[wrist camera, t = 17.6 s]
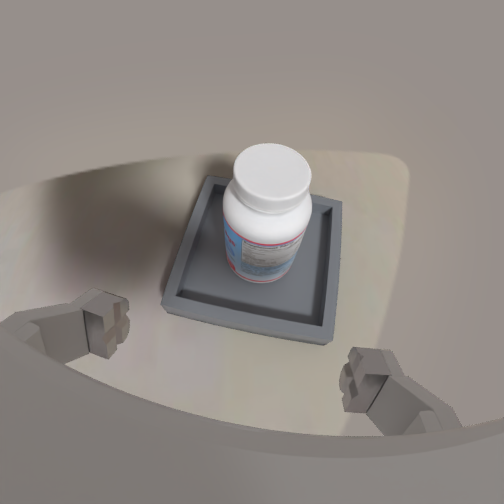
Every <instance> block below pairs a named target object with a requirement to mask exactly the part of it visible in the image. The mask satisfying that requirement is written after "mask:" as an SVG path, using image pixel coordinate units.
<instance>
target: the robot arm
mask: <svg viewBox="0 0 504 504" xmlns="http://www.w3.org/2000/svg"><path fill="white" fill-rule="evenodd" d="M128 311H129V302H128V300H127V299H126V298H123V297H120V296H117V295H114V294H111V293H108V292H105V291H102V290H99V289H96V288H92V289H90V290H89V291H87V292H86V293H84V294H83V295H82V296H80V297H79V298H77V299H76V300H75V301H73V302H72V303H70V304H67V303H65V304H59V305H54V306H48V307H43V308H37V309H31V310H26V311H20V312H15V313H14V314H12V315H11V316H9V317H8V318H6V319H5V320H3V321H2V322H1V323H0V504H504V418H500V419H496V420H492V421H488V422H485V423H480V424H475V425H471V426H466V427H462V425H461V423H460V421H459V419H458V417H457V416H456V413H455V411H454V410H453V408H452V407H451V406H449V405H448V404H446V403H445V402H444V401H442V400H440V399H439V398H438V397H437V396H435V395H434V394H432V393H431V392H429V391H428V390H427V389H425V388H424V387H422V386H421V385H420V384H418V383H417V382H416V381H414V380H413V379H411V378H410V377H408V376H405V375H404V373H403V371H402V369H401V367H400V365H399V363H398V361H397V359H396V358H395V355H394V353H393V352H392V351H391V350H386V349H371V348H360V347H353V348H352V349H351V350H350V352H349V355H348V358H349V362H348V363H347V364H345V365H344V366H343V368H342V371H341V374H340V379H339V387H340V390H341V391H342V392H343V393H344V395H343V397H342V402H343V407H344V412H352V413H366V415H367V416H368V417H369V418H370V420H371V421H372V422H373V423H374V424H375V425H376V427H377V428H378V429H379V430H380V431H381V432H382V434H383V435H384V436H365V437H363V436H362V437H358V436H357V437H355V436H352V437H351V436H326V435H312V434H300V433H291V432H283V431H275V430H268V429H261V428H255V427H250V426H244V425H239V424H234V423H229V422H224V421H219V420H215V419H211V418H207V417H203V416H199V415H195V414H191V413H187V412H184V411H180V410H177V409H173V408H170V407H167V406H164V405H161V404H158V403H154V402H151V401H149V400H146V399H143V398H140V397H137V396H135V395H132V394H129V393H127V392H124V391H122V390H119V389H117V388H114V387H112V386H109V385H107V384H105V383H102V382H100V381H98V380H95V379H93V378H91V377H89V376H87V375H85V374H82V373H80V372H78V371H76V370H74V369H72V368H70V367H68V366H66V365H64V364H65V363H68V362H70V361H73V360H75V359H77V358H80V357H82V356H84V355H87V354H89V352H90V353H92V354H95V355H98V356H100V357H103V358H105V359H108V360H109V358H110V357H111V356H112V355H113V354H114V353H115V351H116V350H117V345H118V344H121V343H123V342H124V341H125V339H126V338H127V335H128V333H129V328H130V320H129V318H128V316H127V315H126V313H127V312H128Z"/></svg>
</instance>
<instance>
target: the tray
mask: <svg viewBox="0 0 504 504" xmlns="http://www.w3.org/2000/svg"><path fill="white" fill-rule="evenodd" d="M231 180H232V179H228V178H222V177H216V176H209V175H208V176H207V178H206V180H205V183H204V185H203V188H202V190H201V193H200V195H199V198H198V200H197V203H196V205H195V208H194V210H193V213H192V216H191V218H190V221H189V223H188V226H187V229H186V231H185V234H184V237H183V240H182V242H181V245H180V248H179V251H178V254H177V256H176V259H175V262H174V265H173V268H172V271H171V274H170V277H169V280H168V283H167V286H166V289H165V292H164V295H163V298H162V301H161V306H162V307H163V308H164V309H165V310H166V312H167V313H170V314H174V315H178V316H182V317H185V318H189V319H193V320H197V321H201V322H205V323H210V324H214V325H218V326H223V327H227V328H231V329H236V330H241V331H245V332H250V333H255V334H260V335H265V336H270V337H276V338H281V339H287V340H292V341H298V342H304V343H310V344H317V345H323V346H324V345H326V344H327V343H329V342H331V341H333V334H334V325H335V316H336V306H337V295H338V283H339V270H340V253H341V231H342V201H337V200H333V199H329V198H325V197H320V196H316V195H311V194H310V196H311V200H312V213H311V217H310V220H309V223H308V225H307V228H306V230H305V233H304V236H303V238H302V241H301V243H300V246H299V248H298V251H297V253H296V256H295V258H294V261H293V263H292V265H291V267H290V269H289V270H288V272H287V273H286V274H285V275H284V276H283V277H281V278H280V279H278V280H276V281H273V282H269V283H253V282H249V281H246V280H244V279H242V278H240V277H239V276H238V275H236V274H235V273H234V272H233V270H232V269H231V267H230V266H229V263H228V261H227V257H226V247H225V234H224V219H223V196H224V192H225V190H226V187H227V186H228V184H229V182H230V181H231Z"/></svg>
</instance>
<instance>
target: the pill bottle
mask: <svg viewBox="0 0 504 504" xmlns="http://www.w3.org/2000/svg"><path fill="white" fill-rule="evenodd" d="M310 181H311V170H310V167H309V165H308V163H307V161H306V160H305V159H304V157H303V156H302V155H300V154H299V153H298V152H296V151H295V150H293V149H291V148H289V147H286V146H284V145H280V144H273V143H264V144H257V145H254V146H251V147H249V148H247V149H245V150H244V151H242V152H241V153H240V154H239V155H238V157H237V158H236V160H235V163H234V167H233V179H232V180H231V181H230V182H229V184H228V186H227V187H226V190H225V192H224V196H223V219H224V234H225V247H226V257H227V261H228V263H229V266H230V267H231V269H232V270H233V272H234V273H235V274H236V275H238V276H239V277H240V278H242V279H244V280H246V281H249V282H253V283H269V282H273V281H276V280H278V279H280V278H281V277H283V276H284V275H285V274H286V273H287V272H288V270H289V269H290V267H291V265H292V263H293V261H294V258H295V256H296V253H297V251H298V248H299V246H300V243H301V241H302V238H303V236H304V233H305V230H306V228H307V225H308V223H309V220H310V217H311V213H312V200H311V196H310V193H309V185H310Z"/></svg>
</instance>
